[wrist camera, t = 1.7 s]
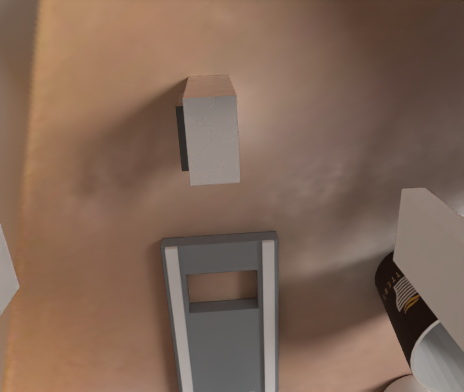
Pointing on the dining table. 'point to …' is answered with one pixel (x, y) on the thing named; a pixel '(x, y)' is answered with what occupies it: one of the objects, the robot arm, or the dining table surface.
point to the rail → (224, 314)
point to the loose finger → (209, 130)
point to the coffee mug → (420, 332)
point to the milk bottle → (405, 385)
